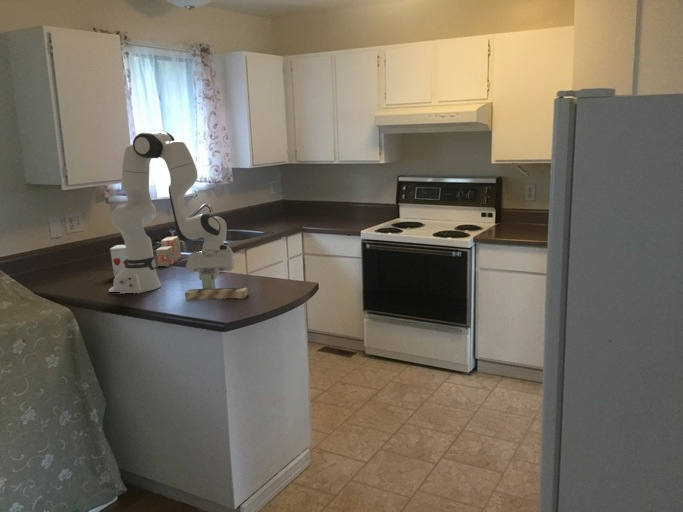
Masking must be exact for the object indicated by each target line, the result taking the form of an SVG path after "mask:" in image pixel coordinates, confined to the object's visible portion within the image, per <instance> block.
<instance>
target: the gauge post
mask: <svg viewBox="0 0 683 512" xmlns="http://www.w3.org/2000/svg"><path fill="white" fill-rule="evenodd" d="M214 273H215V272H213V270H208V271H203V272H201V279H202V280H201V288H202V289H216V281H215V280H212V278H211V277H212V274H214Z"/></svg>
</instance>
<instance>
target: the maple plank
mask: <svg viewBox="0 0 683 512" xmlns="http://www.w3.org/2000/svg"><path fill="white" fill-rule="evenodd" d="M184 295H185V298H184V299H185V301H188V300H189V301H192V300H195V299H199V300H226V299H225V298H238V299H245V298H246V297H247V296H248V295H249V291H248V287H230V288H229V287H228V288H227V287H225V288H215V289H203V288H193V289H191V288H190V289H188V290H186V291H185V292H184ZM223 298H224V299H223ZM195 301H196V300H195Z"/></svg>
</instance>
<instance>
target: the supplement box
mask: <svg viewBox="0 0 683 512" xmlns="http://www.w3.org/2000/svg"><path fill="white" fill-rule="evenodd" d="M109 251H110V256H111V264H112V270H113V271H112V272H113V278H114V277H115V276H116V275H117V274H118V273H119V272H120V271H121V270H123V269H124V268H125V264H123V261H125V260H126V259H127V253H126V247H125V244H117V245H116V244H115V245H114V246H113V247H111V248H109Z"/></svg>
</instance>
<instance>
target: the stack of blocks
mask: <svg viewBox="0 0 683 512" xmlns="http://www.w3.org/2000/svg"><path fill="white" fill-rule="evenodd" d="M160 244H161V246H160V247H158V248H157V249H156V250H155V253H156V261H157V267H158V266H165V267H170V266H172V265H173V264H174V262H175V263H176V262H177V261H179V260H181V258H182V257H183V256H182V252H181V243H180V239H179V238H178V237H177V235H176V236H174V235H173V236H167V237H165V238H163V239H162V240H161V241H160Z"/></svg>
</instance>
